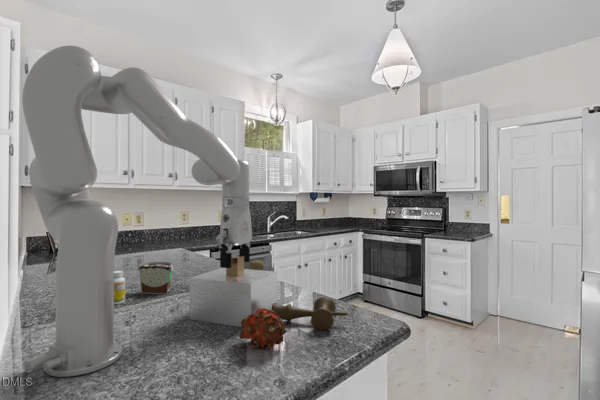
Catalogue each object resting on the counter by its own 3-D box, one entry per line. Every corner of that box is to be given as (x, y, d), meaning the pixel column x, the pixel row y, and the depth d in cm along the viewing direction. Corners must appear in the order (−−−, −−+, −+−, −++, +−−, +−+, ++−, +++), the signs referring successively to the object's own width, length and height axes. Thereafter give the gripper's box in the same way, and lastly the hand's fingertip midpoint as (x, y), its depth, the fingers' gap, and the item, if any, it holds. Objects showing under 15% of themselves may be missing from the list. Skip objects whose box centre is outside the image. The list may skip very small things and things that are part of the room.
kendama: (276, 316, 90) (348, 318, 87) (267, 331, 80) (348, 333, 77) (275, 295, 90) (348, 296, 87) (266, 307, 80) (348, 308, 77)
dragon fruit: (283, 362, 66) (243, 355, 73) (300, 327, 72) (262, 323, 79) (263, 336, 62) (223, 330, 69) (282, 301, 68) (244, 299, 75)
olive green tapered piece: (244, 293, 111) (245, 261, 111) (252, 289, 117) (252, 258, 117) (261, 295, 109) (261, 262, 109) (268, 290, 115) (268, 259, 115)
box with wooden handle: (250, 328, 80) (250, 263, 80) (189, 319, 86) (189, 259, 86) (276, 309, 94) (276, 254, 95) (222, 302, 101) (222, 251, 101)
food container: (179, 289, 116) (180, 261, 117) (171, 294, 110) (171, 265, 110) (147, 288, 118) (147, 261, 118) (137, 293, 112) (137, 264, 112)
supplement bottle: (128, 301, 102) (129, 271, 102) (111, 306, 97) (112, 274, 97) (118, 299, 105) (118, 269, 105) (101, 303, 100) (102, 272, 100)
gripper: (230, 203, 82) (230, 271, 81) (261, 203, 98) (261, 260, 98) (205, 203, 84) (205, 269, 84) (240, 204, 100) (240, 258, 100)
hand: (235, 264), depth 91 cm, fingers open, 9 cm apart
